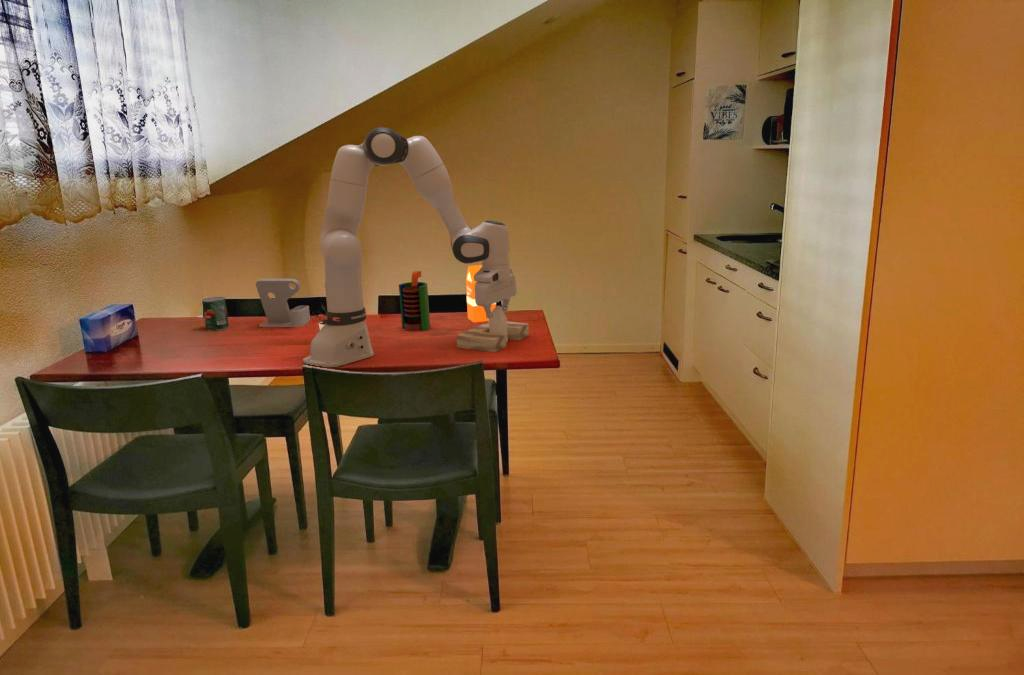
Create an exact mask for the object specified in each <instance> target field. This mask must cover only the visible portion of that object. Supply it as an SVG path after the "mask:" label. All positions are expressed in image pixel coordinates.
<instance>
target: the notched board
mask: <svg viewBox="0 0 1024 675" xmlns="http://www.w3.org/2000/svg"><path fill="white" fill-rule="evenodd" d="M507 332H508V340H513V341H520V340H522V339H525V338H526V337H529V335H530V329H529V323H524V322H515V321H507ZM456 346H457V348H459V349H466V350H468V349H469V350H475V351H481V352H489V353H497V352H498V351H500V350H503V349H505V348H507V343H506V335H505V334H496V333H489V321H486V322H484V323H482V324H480V325H478V326H476V327H474V328H473V327H472V328H471V329H468V330H466V331H463V332H460V333H459V334H457V335H456Z"/></svg>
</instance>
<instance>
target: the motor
mask: <svg viewBox="0 0 1024 675" xmlns="http://www.w3.org/2000/svg"><path fill="white" fill-rule="evenodd" d="M419 278H422V271H420V270H414V271H412V274H411V281H410V282H404V283H400V284H398V294H399V304H400V305H399V306H400V315H401V316H400V317H401V318H400V319H401V327H402V329H404V330H405V331H408V332H418V331H422V332H423V331H427V330H429V329H430V328H431V319H430V318H431V317H430V307H429V292H428V290H429V288H428V283H427V282H424V281H419Z"/></svg>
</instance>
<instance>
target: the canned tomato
mask: <svg viewBox="0 0 1024 675" xmlns="http://www.w3.org/2000/svg"><path fill="white" fill-rule="evenodd" d="M201 303H202V308H203V316H204V323H205V330H206V329H207V330H206V331H208V330H212V331H211V332H214V331H213V330H218V331H223V329H224V330H226V328H227V329H229V328H230V325H229V317H228V310H227V303H226V297H224V296H214V297H213V296H212V297H208V298H207V297H205V298H203V299H202V300H201ZM228 327H229V328H228Z"/></svg>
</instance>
